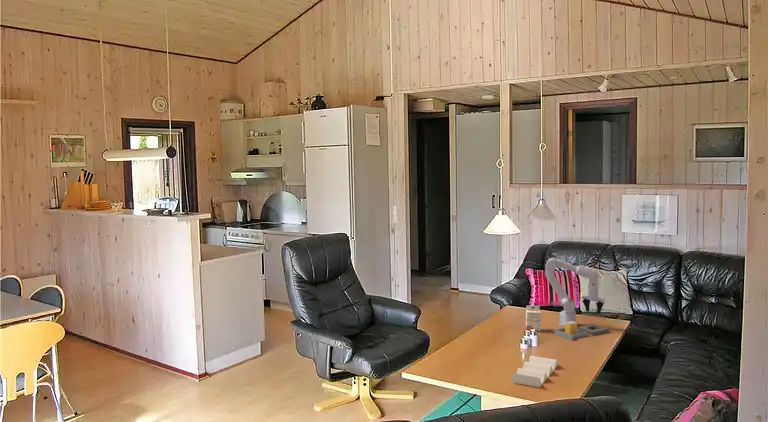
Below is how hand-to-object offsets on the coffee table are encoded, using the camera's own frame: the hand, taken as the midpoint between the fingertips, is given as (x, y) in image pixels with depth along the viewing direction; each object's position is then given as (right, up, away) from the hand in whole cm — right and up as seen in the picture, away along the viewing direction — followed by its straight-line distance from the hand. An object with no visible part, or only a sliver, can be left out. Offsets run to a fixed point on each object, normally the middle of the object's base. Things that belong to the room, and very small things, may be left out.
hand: (593, 312), depth 369 cm
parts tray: (-18, -11, -14) cm, 25 cm away
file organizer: (-54, -18, -75) cm, 94 cm away
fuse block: (-3, -11, -8) cm, 14 cm away
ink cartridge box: (-37, -11, -1) cm, 39 cm away
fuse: (-18, -11, -14) cm, 25 cm away
